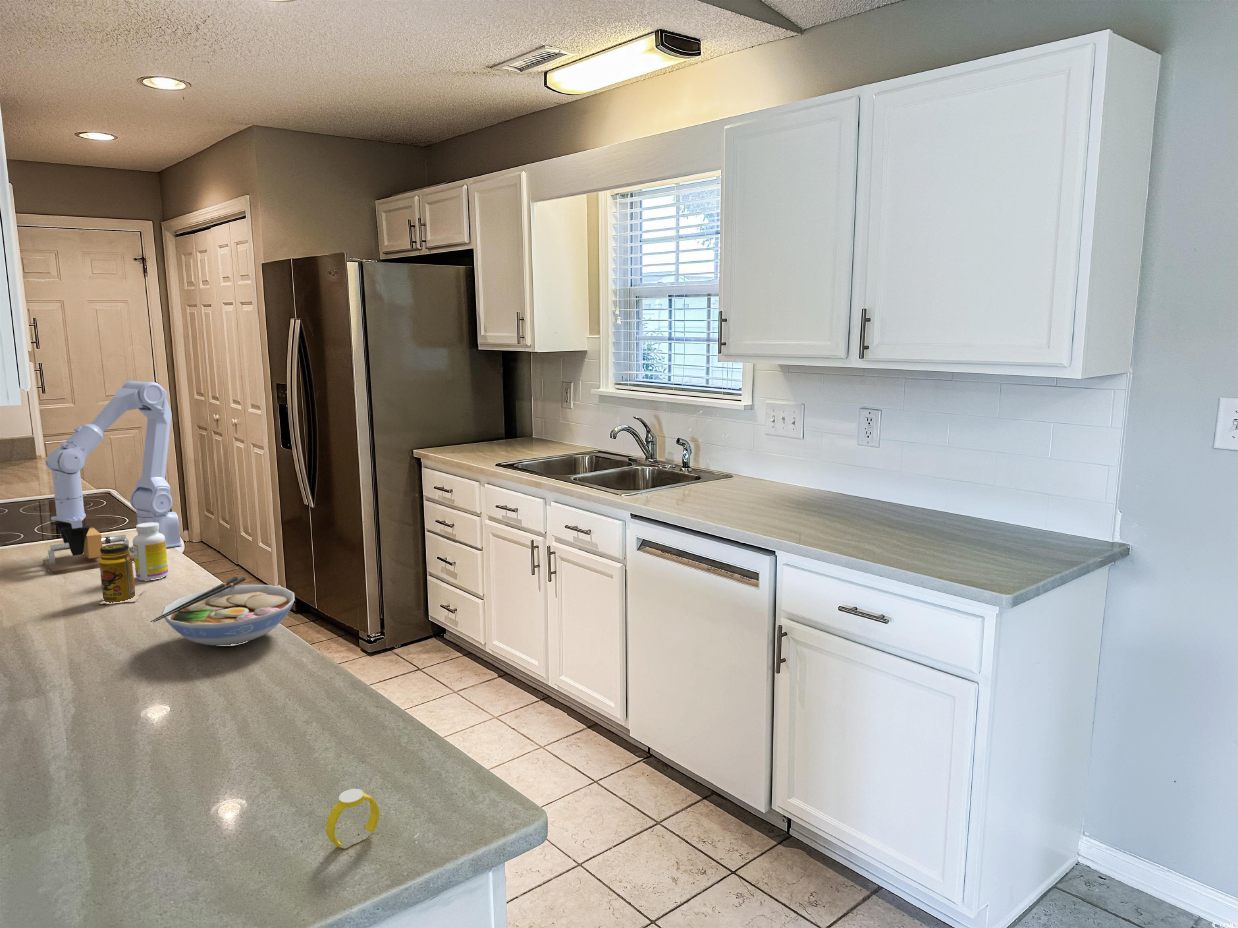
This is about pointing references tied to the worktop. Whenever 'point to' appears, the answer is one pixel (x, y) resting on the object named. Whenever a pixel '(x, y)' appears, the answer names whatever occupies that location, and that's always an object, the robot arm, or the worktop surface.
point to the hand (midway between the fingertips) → (74, 551)
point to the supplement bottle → (149, 552)
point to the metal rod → (66, 546)
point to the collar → (93, 544)
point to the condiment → (116, 573)
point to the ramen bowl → (229, 612)
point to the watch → (351, 800)
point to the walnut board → (74, 563)
